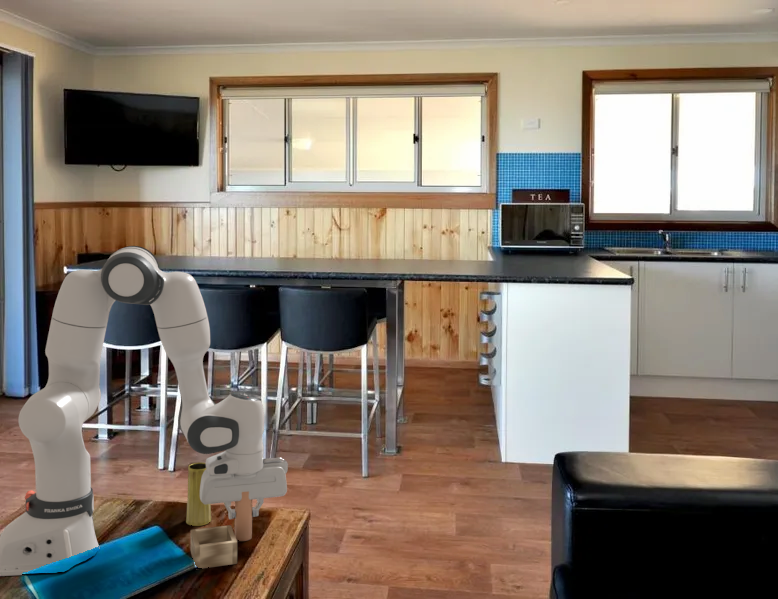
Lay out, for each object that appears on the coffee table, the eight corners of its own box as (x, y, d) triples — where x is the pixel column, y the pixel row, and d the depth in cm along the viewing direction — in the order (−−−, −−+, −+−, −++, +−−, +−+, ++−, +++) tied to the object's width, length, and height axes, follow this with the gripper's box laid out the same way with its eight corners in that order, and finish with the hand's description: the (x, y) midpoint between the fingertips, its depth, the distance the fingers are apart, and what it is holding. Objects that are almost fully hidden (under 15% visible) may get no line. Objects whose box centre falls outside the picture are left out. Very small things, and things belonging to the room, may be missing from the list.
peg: (236, 542, 168) (236, 492, 167) (233, 534, 172) (234, 486, 171) (253, 539, 170) (254, 491, 168) (250, 532, 173) (250, 485, 172)
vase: (204, 527, 175) (205, 471, 173) (181, 524, 176) (181, 468, 175) (215, 517, 181) (216, 463, 179) (192, 514, 182) (193, 460, 181)
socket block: (194, 569, 155) (195, 547, 154) (190, 550, 163) (190, 529, 162) (237, 563, 158) (237, 542, 157) (230, 545, 166) (230, 525, 166)
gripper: (284, 452, 175) (283, 506, 177) (198, 459, 168) (198, 516, 169) (290, 461, 169) (289, 517, 171) (202, 469, 162) (201, 527, 164)
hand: (243, 516), depth 170 cm, fingers closed on peg, 4 cm apart
